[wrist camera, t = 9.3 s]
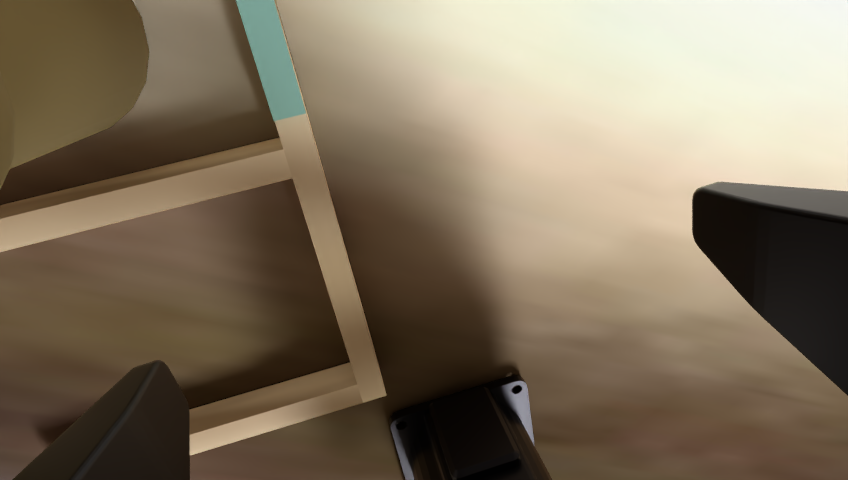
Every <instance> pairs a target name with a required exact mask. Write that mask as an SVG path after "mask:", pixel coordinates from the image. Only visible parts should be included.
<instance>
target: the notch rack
mask: <svg viewBox="0 0 848 480" xmlns="http://www.w3.org/2000/svg"><path fill="white" fill-rule="evenodd" d="M236 3H237V6H238V9H239V12H240V16H241V19H242V22H243V25H244V28H245V32H246V35H247V38H248V41H249V44H250V47H251V51H252V54H253V57H254V60H255V63H256V66H257V70H258V73H259V76H260V79H261V82H262V86H263V89H264V92H265V95H266V98H267V101H268V105H269V108H270V111H271V114H272V117H273V120H274V121H275V124H276V127H277V131H278V134H279V138H275V139H271V140H267V141H263V142H259V143H255V144H250V145H246V146H242V147H238V148H234V149H230V150H226V151H222V152H217V153H213V154H209V155H205V156H201V157H197V158H193V159H189V160H185V161H180V162H176V163H172V164H168V165H164V166H160V167H156V168H152V169H147V170H143V171H139V172H135V173H131V174H127V175H123V176H119V177H114V178H110V179H106V180H102V181H98V182H94V183H90V184H86V185H82V186H77V187H73V188H69V189H65V190H61V191H57V192H53V193H49V194H44V195H40V196H36V197H32V198H28V199H24V200H20V201H16V202H11V203H7V204H3V205H0V252H2V251H6V250H10V249H14V248H18V247H22V246H26V245H30V244H34V243H38V242H42V241H46V240H50V239H54V238H58V237H62V236H66V235H70V234H74V233H78V232H82V231H86V230H90V229H94V228H98V227H102V226H106V225H110V224H113V223H117V222H121V221H125V220H129V219H133V218H137V217H141V216H145V215H149V214H153V213H157V212H161V211H165V210H169V209H173V208H177V207H181V206H185V205H189V204H193V203H197V202H201V201H205V200H209V199H213V198H217V197H221V196H225V195H229V194H232V193H236V192H240V191H244V190H248V189H252V188H256V187H260V186H264V185H268V184H272V183H276V182H280V181H284V180H288V179H292V178H293V181H294V185H295V188H296V191H297V194H298V197H299V201H300V204H301V207H302V210H303V213H304V216H305V220H306V223H307V226H308V229H309V232H310V236H311V239H312V242H313V245H314V248H315V251H316V255H317V258H318V261H319V264H320V267H321V271H322V274H323V277H324V280H325V283H326V286H327V290H328V293H329V296H330V299H331V302H332V306H333V309H334V312H335V315H336V318H337V321H338V325H339V328H340V331H341V334H342V337H343V341H344V344H345V347H346V350H347V353H348V356H349V360H350V362H349V363H346V364H342V365H339V366H336V367H332V368H329V369H325V370H322V371H319V372H315V373H312V374H308V375H305V376H302V377H298V378H295V379H291V380H288V381H285V382H281V383H278V384H274V385H271V386H268V387H264V388H261V389H258V390H254V391H251V392H247V393H244V394H241V395H237V396H234V397H230V398H227V399H224V400H220V401H217V402H213V403H210V404H207V405H203V406H200V407H196V408H193V409H190V410H189V412H190V455H193V454H196V453H200V452H203V451H206V450H210V449H213V448H216V447H219V446H223V445H226V444H229V443H233V442H236V441H239V440H242V439H246V438H249V437H252V436H256V435H259V434H262V433H265V432H269V431H272V430H275V429H279V428H282V427H285V426H288V425H292V424H295V423H298V422H302V421H305V420H308V419H311V418H315V417H318V416H321V415H325V414H328V413H331V412H334V411H338V410H341V409H344V408H348V407H351V406H354V405H357V404H361V403H364V402H367V401H371V400H374V399H377V398H380V397H384V396H387V395H386V391H385V387H384V383H383V379H382V375H381V371H380V367H379V364H378V360H377V357H376V353H375V350H374V346H373V343H372V339H371V336H370V332H369V328H368V325H367V321H366V318H365V314H364V311H363V307H362V304H361V300H360V297H359V293H358V290H357V286H356V283H355V279H354V276H353V272H352V269H351V265H350V262H349V258H348V254H347V251H346V247H345V244H344V240H343V237H342V233H341V230H340V226H339V223H338V219H337V216H336V212H335V209H334V205H333V202H332V198H331V195H330V191H329V187H328V184H327V180H326V177H325V173H324V170H323V166H322V163H321V159H320V156H319V152H318V149H317V145H316V142H315V138H314V135H313V131H312V128H311V124H310V121H309V117H308V113H307V110H306V106H305V103H304V99H303V96H302V92H301V89H300V85H299V82H298V78H297V75H296V71H295V68H294V64H293V61H292V57H291V54H290V50H289V47H288V43H287V39H286V36H285V32H284V29H283V25H282V22H281V18H280V15H279V11H278V8H277V4H276V1H275V0H236Z"/></svg>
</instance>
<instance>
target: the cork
mask: <svg viewBox="0 0 848 480" xmlns="http://www.w3.org/2000/svg"><path fill="white" fill-rule="evenodd" d="M148 58H149V48H148V44H147V39H146V35H145V30H144V26H143V21H142V17H141V16H140V14H139V12H138V10H137V9H136V7H135V5H134V3H133V1H132V0H0V189H1V187H2V185H3V183H4V180H5V178H6V176H7V174H8V172H9V169H11V168H14V167H16V166H18V165H21V164H23V163H26V162H28V161H30V160H33V159H35V158H38V157H40V156H43V155H45V154H47V153H50V152H52V151H55V150H57V149H60V148H62V147H64V146H67V145H69V144H72V143H74V142H76V141H79V140H81V139H84V138H86V137H89V136H91V135H93V134H96V133H98V132H101V131H103V130H106V129H108V128H110V127H112V126H113V125H114V124H115V123H116V122H118V121H119V120H120V119H121V118H122V117H123V116H124V115H125V114H127V113H128V112H129V111H130V110H131V109H132V108H133V107H134V105H135V103H136V101H137V99H138V97H139V95H140V93H141V91H142V89H143V87H144V85H145V83H146V77H147V67H148Z"/></svg>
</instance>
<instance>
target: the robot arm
mask: <svg viewBox="0 0 848 480" xmlns="http://www.w3.org/2000/svg"><path fill="white" fill-rule="evenodd" d="M692 232H693V237H694V240H695V242H696V244H697V245H698V247H699V248H700V249H701V250H702V251H703V253H704V254H705V255H706V256H707V257H708V258H709V259H710V261H711V262H712V263H713V264H714V265H715V266H716V267H717V268H718V270H719V271H720V272H721V273H722V274H723V275H724V276H725V278H726V279H727V280H728V281H729V282H730V283H731V284H732V285H733V287H734V288H735V289H736V290H737V291H738V292H739V293H740V295H741V296H742V297H743V298H744V299H745V300H746V301H747V302H748V303H749V304H750V305H751V306H752V308H753V309H755V310H756V311H757V312H758V313H759V314H760V315H761V316H762V317H763V318H764V319H765V320H766V321H767V322H768V323H769V324H770V325H771V326H773V327H774V328H775V329H776V330H777V331H778V332H779V333H780V334H781V335H782V336H783V337H785V338H786V339H787V340H788V341H789V342H790V343H791V344H792V345H793V346H794V347H795V348H797V349H798V350H799V351H800V352H801V353H802V354H803V355H804V356H805V357H806V358H807V359H808V360H810V361H811V362H812V363H813V364H814V365H815V366H816V367H817V368H818V369H819V370H820V371H822V372H823V373H824V374H825V375H826V376H827V377H828V378H829V379H830V380H831V381H832V382H834V383H835V384H836V385H837V386H838V387H839V388H840V389H841V390H842V391H843V392H844V393H845V394H847V395H848V191H836V190H823V189H809V188H796V187H783V186H769V185H756V184H743V183H729V182H716V183H713V184H710V185H706V186H703V187H700V188H698V189H697V190H696V191H695V192H694V194H693V199H692ZM516 385H518V386H517V387H515V388H513V387H514V386H516ZM400 421H404V422H402V423H399V424H398V422H400ZM389 423H390V428H391V431H392V435H393V438H394V442H395V445H396V448H397V452H398V455H399V459H400V462H401V466H402V469H403V472H404V476H405V479H406V480H552V478H551V477H550V475H549V473H548V471H547V469H546V467H545V465H544V463H543V461H542V459H541V458H540V456H539V454H538V452H537V450H536V448H535V446H534V438H533V430H532V422H531V414H530V406H529V398H528V389H527V385H526V383H525V381H524V379H523V378H522V377H521V376H518V375H515V376H510V377H507V378H504V379H501V380H497V381H494V382H491V383H488V384H484V385H481V386H478V387H475V388H471V389H468V390H465V391H462V392H458V393H455V394H452V395H449V396H445V397H442V398H439V399H436V400H433V401H429V402H426V403H423V404H420V405H416V406H413V407H410V408H407V409H403V410H400V411H397V412H395V413H393V414H392V415H391V417H390V419H389ZM13 480H190V412H189V406H188V402H187V400H186V398H185V396H184V394H183V392H182V390H181V389H180V387H179V385H178V383H177V382H176V380H175V378H174V376H173V375H172V373H171V371H170V369H169V368H168V366H167V365H166V364H165V363H164V362H163V361H160V360H156V361H153V362H149V363H146V364H143V365H140V366H137V367H135V368H133V369H132V370H130V371H129V372H128V373H127V374H126V375H125V376H124V377H123V378H122V379H121V380H120V381H119V382H117V383H116V384H115V385H114V386H113V387H112V388H111V389H110V390H109V391H108V392H107V393H106V394H104V395H103V396H102V397H101V398H100V399H99V400H98V401H97V402H96V403H95V404H94V405H93V406H91V407H90V408H89V409H88V410H87V411H86V412H85V413H84V414H83V415H82V416H81V417H80V418H79V419H77V420H76V421H75V422H74V423H73V424H72V425H71V426H70V427H69V428H68V429H67V430H66V431H64V432H63V433H62V434H61V435H60V436H59V437H58V438H57V439H56V440H55V441H54V442H53V443H52V444H50V445H49V446H48V447H47V448H46V449H45V450H44V451H43V452H42V453H41V454H40V455H39V456H37V457H36V458H35V459H34V460H33V461H32V462H31V463H30V464H29V465H28V466H27V467H26V468H24V469H23V470H22V471H21V472H20V473H19V474H18V475H17V476H16V477H15V478H14V479H13Z"/></svg>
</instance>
